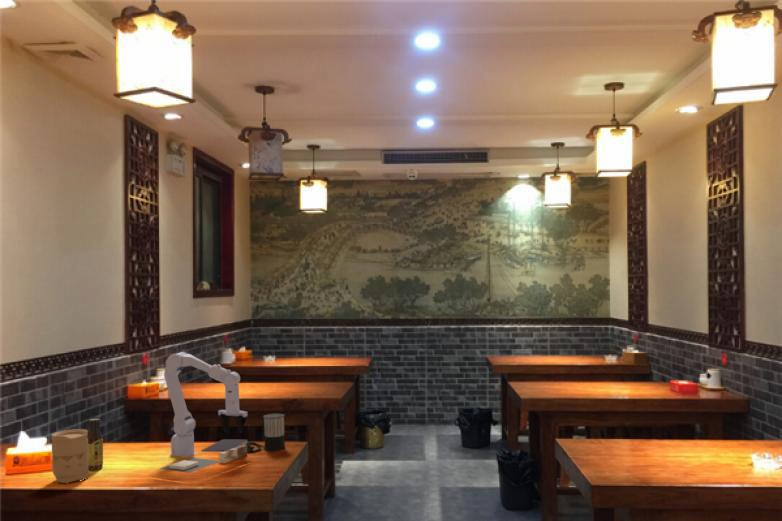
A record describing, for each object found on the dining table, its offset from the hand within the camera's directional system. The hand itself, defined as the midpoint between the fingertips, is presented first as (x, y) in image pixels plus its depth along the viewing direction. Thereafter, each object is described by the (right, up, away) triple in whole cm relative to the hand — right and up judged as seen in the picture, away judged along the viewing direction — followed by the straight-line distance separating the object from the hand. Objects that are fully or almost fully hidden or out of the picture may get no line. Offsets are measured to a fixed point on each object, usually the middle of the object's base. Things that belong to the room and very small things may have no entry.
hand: (233, 432), depth 297 cm
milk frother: (+13, -9, +6) cm, 17 cm away
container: (-56, -11, -30) cm, 64 cm away
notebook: (-7, -11, +15) cm, 20 cm away
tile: (-13, -8, -17) cm, 23 cm away
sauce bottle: (-53, -11, -15) cm, 56 cm away
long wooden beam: (+2, -9, -9) cm, 13 cm away
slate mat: (-13, -9, -17) cm, 23 cm away
